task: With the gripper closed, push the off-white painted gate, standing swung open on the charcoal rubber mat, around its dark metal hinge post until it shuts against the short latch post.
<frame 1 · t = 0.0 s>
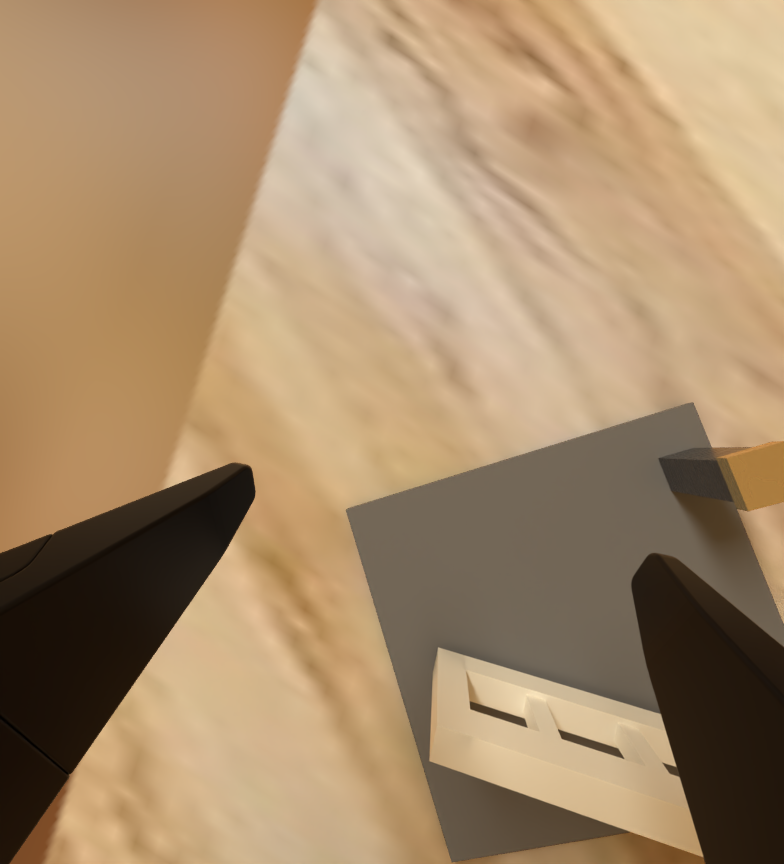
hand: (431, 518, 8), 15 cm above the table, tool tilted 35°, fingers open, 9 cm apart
mat: (567, 631, 21), on the table
latch post: (676, 468, 21), resting on mat
gate: (592, 745, 17), point 4 cm above the table, hinge at 60.0°
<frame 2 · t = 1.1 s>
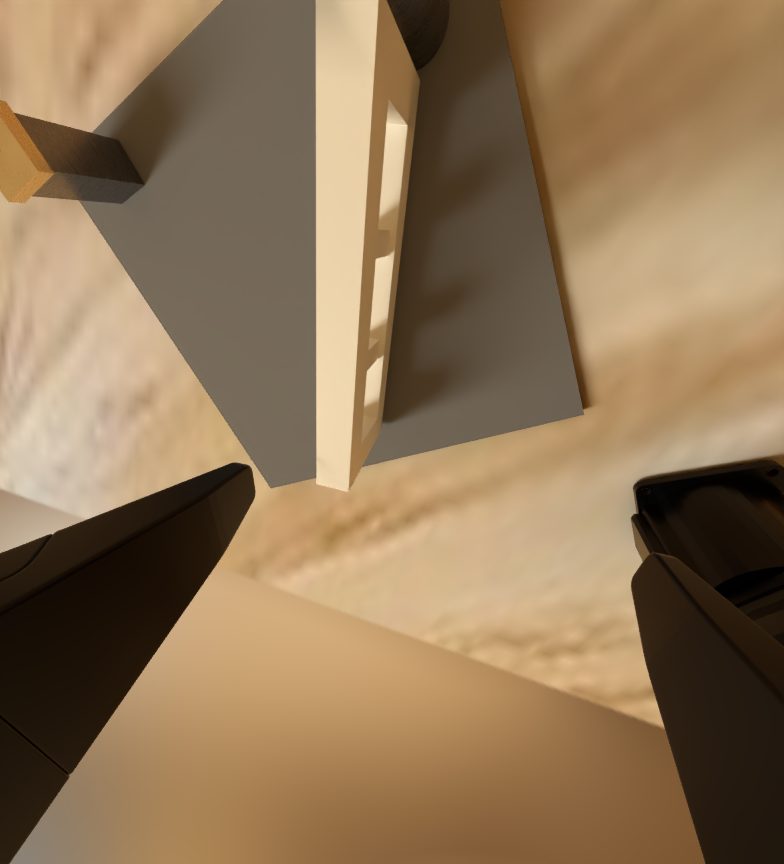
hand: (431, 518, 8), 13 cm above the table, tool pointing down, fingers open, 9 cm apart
mat: (324, 289, 19), on the table
latch post: (128, 174, 18), resting on mat
hinge post: (411, 24, 13), resting on mat
gate: (362, 304, 15), point 4 cm above the table, hinge at 60.0°
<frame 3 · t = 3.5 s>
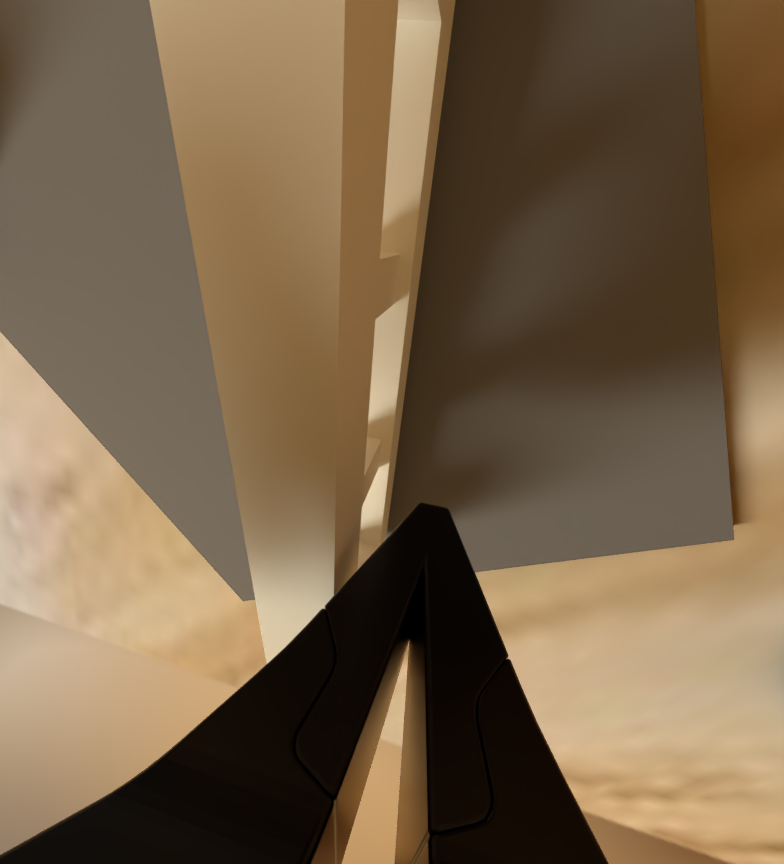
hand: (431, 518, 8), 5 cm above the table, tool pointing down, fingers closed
mat: (295, 347, 12), on the table
gate: (349, 400, 8), point 4 cm above the table, hinge at 58.7°, touching gripper
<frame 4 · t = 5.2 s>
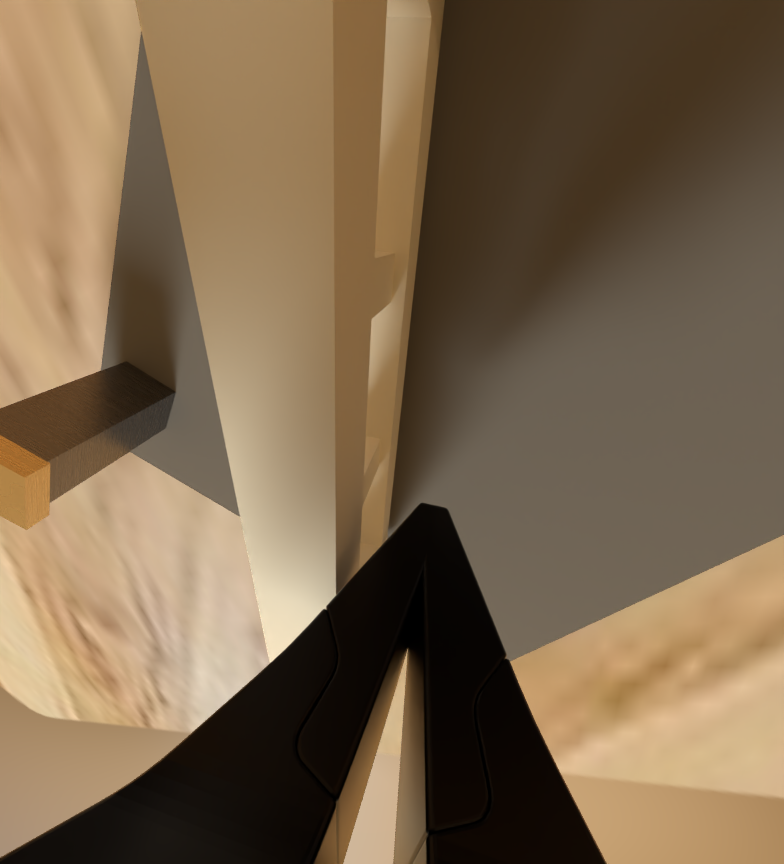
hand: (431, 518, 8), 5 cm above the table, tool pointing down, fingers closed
mat: (459, 380, 11), on the table
latch post: (157, 391, 14), resting on mat
gate: (347, 400, 8), point 4 cm above the table, hinge at 27.9°, touching gripper
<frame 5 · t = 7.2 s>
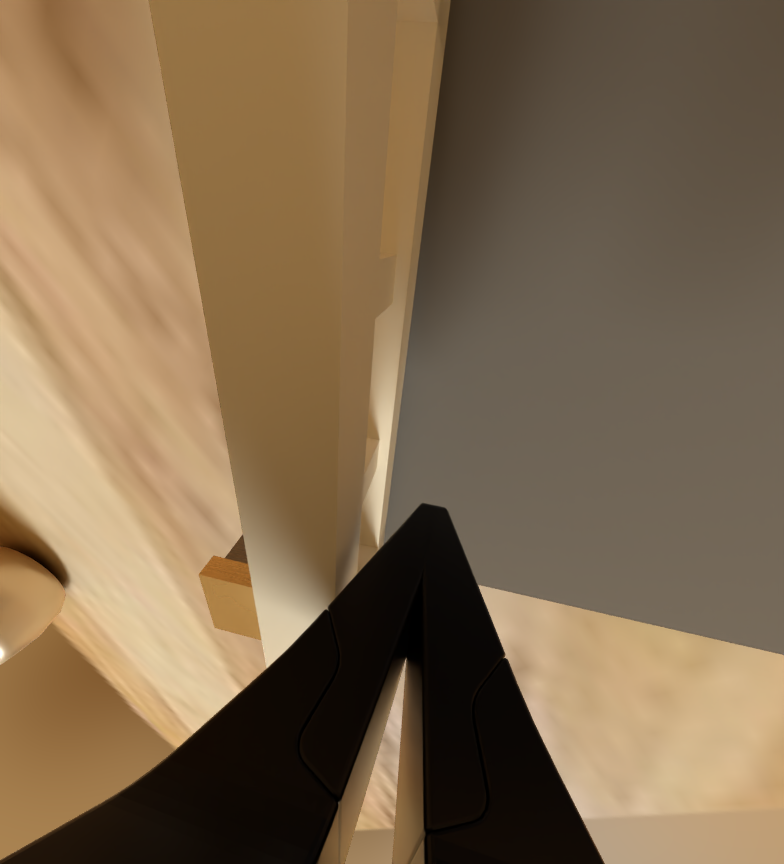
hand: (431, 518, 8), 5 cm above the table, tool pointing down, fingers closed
mat: (648, 328, 9), on the table
plastic bottle: (39, 565, 23), on the table
latch post: (325, 481, 14), resting on mat
gate: (347, 401, 8), point 4 cm above the table, hinge at -0.4°, touching gripper, latch post
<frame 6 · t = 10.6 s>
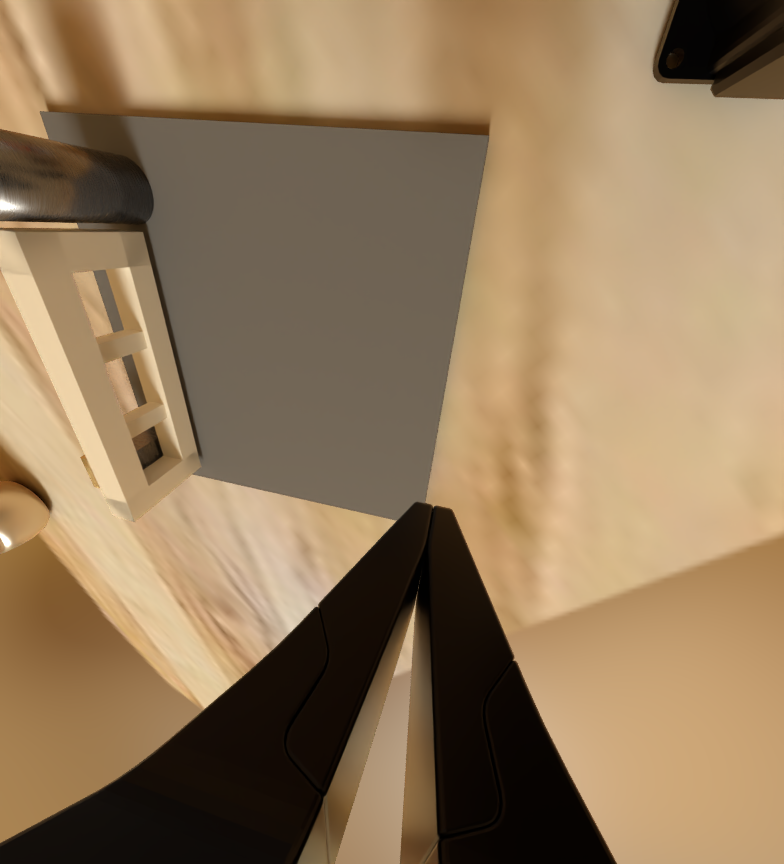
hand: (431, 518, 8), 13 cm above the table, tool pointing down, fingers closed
mat: (270, 355, 22), on the table
plastic bottle: (33, 496, 36), on the table
latch post: (172, 431, 27), resting on mat
hinge post: (135, 191, 18), resting on mat
gate: (126, 385, 20), point 4 cm above the table, hinge at -0.4°, touching latch post
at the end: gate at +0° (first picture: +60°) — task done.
